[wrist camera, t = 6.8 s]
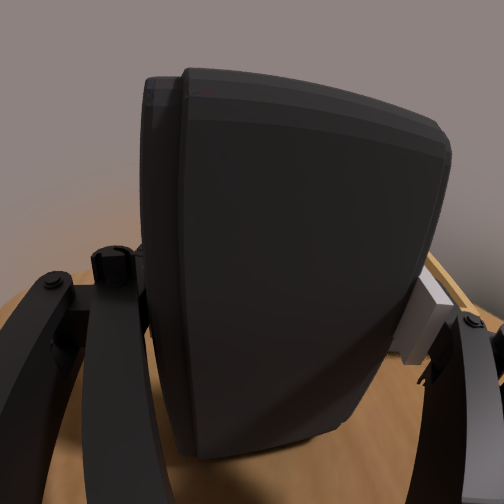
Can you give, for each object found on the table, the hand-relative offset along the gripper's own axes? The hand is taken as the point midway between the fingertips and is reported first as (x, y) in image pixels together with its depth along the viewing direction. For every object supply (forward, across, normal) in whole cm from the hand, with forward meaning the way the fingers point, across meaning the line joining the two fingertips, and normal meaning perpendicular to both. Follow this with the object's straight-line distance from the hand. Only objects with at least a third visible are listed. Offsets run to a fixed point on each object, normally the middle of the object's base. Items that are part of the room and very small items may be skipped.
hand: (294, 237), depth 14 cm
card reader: (-5, 0, -9) cm, 10 cm away
